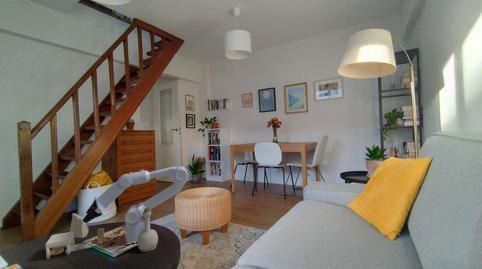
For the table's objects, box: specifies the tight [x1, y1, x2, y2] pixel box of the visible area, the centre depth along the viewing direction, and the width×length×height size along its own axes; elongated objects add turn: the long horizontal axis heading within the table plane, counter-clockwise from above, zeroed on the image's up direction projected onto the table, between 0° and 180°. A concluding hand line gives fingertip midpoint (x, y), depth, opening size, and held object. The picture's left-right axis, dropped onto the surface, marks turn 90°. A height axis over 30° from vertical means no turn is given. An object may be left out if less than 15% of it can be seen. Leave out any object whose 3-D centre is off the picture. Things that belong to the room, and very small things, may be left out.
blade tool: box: [65, 227, 105, 254], centre depth 104 cm, size 14×5×6 cm, turn 118°
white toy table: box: [45, 231, 75, 260], centre depth 100 cm, size 8×10×6 cm
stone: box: [69, 212, 89, 239], centre depth 116 cm, size 10×5×12 cm, turn 65°
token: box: [50, 247, 65, 257], centre depth 99 cm, size 5×5×1 cm
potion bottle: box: [136, 207, 159, 253], centre depth 101 cm, size 9×9×18 cm
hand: (86, 217), depth 102 cm, fingers open, 7 cm apart
